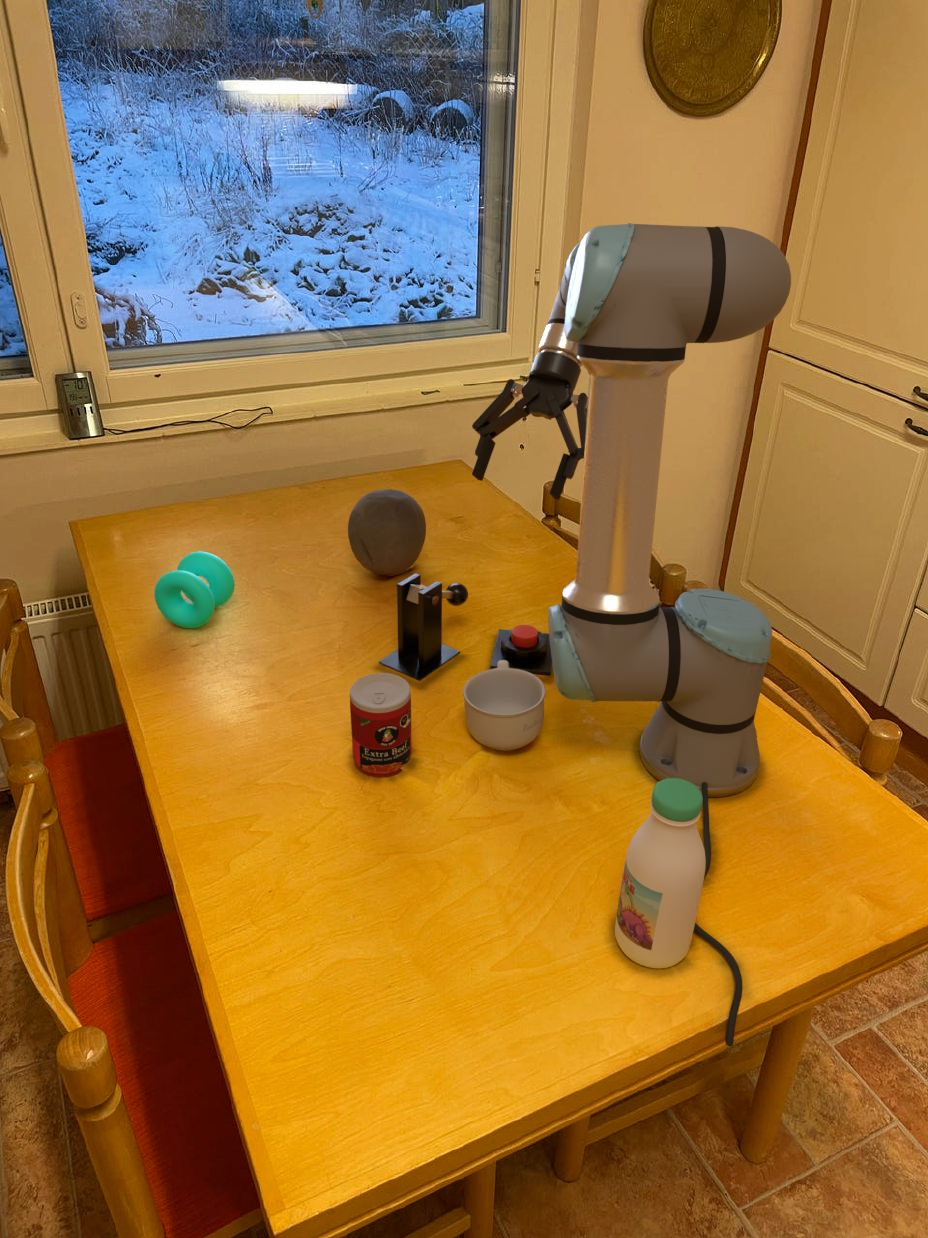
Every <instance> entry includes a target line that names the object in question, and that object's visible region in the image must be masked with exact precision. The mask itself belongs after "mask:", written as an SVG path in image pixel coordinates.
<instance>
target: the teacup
mask: <svg viewBox="0 0 928 1238" xmlns="http://www.w3.org/2000/svg"><path fill="white" fill-rule="evenodd" d="M546 690H547V689H546V686H545V684H544V682H543V681H542V679H541V678H540V677H538V676H536V674H531V673H529V672H527V671H524V670H520V669H513V668H509V663H508V661H506V660H500V661H498V663H497V668H495V669H487V670H483V671H480V672H477V673H476V674H474V675H473V676H471V677H470V678H469V679H468V680H466V682H465V684H464V686H463V689H462V696H463V699H464V701H463V702H464V713H465V715H464V716H465V722H466V726H467V729H468V732H469V734H470V735H471V737H472V738H473V739H475V741H476V742H478V743H479V744H481V745H483V746H485V747H486V748H487V747H488V748H490V749H492V750H495V751H502V752H506V751H507V752H508V751H514V750H518V749H520V748H522V747H525V746H527V745H529V744H530V743H531V742H533V741H534V740H535V739H536V738H537V737H538V735H539V734H540V732H541V730H542V728H543V725H544V717H545V699H546V694H547V693H546Z"/></svg>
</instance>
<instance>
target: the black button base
mask: <svg viewBox="0 0 928 1238" xmlns="http://www.w3.org/2000/svg"><path fill="white" fill-rule="evenodd" d="M511 636H512V629H504V628H499V629H498V631H497V634H496V640H495V644H494V648H493V653H492V657H491V661H490V667H489V668H490V669H495V668H497V663H498V661H500V660H506V661H508V663H509V668H513V669H520V670H524V671H527V672H529V673H531V674H533V675H538V676H547V677H548V676H549V677H551V674H552V667H553V664H552V656H551V648H550V638H549V632H541V631H539V630H538V640H537V644H536V646H534V647H529V648H524V647H518V646H515V645H513V644H512V642H511ZM490 669H489V670H490Z"/></svg>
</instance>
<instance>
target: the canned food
mask: <svg viewBox="0 0 928 1238" xmlns="http://www.w3.org/2000/svg"><path fill="white" fill-rule="evenodd" d="M349 709H350V710H349V712H350V729H351V742H352V744H351V745H352V758H353V761H354V763H355V766H356V767H357V769H358V770H359V771H360V772H362V773H363V774H364V775H367V776H371V777H373V778H386V777H387V778H388V777H393V776H395V775H397V774H399V773H401V772H403V769H402V768H403V767H405V765H407V764H408V762H409V761H410V759H411V757H412V692H411V686H410V684H409V682H408V681H407V680H406V679H405V678H403V677H401V676H400V675H397V674H394V673H389V672H375V673H369V674H367V675H364V676H362V677H359V678H358V679H356V680H355V681H354V682H353V683H352V685H351V687H350V689H349Z"/></svg>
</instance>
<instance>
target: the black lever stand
mask: <svg viewBox="0 0 928 1238" xmlns="http://www.w3.org/2000/svg"><path fill="white" fill-rule="evenodd" d="M410 584H421V585H422V577H421V574H419V573H414V574H412V575H410V576H408V577H406V578H405V579H403V580H402V581H399V582H398V583H396V608H397V609H396V611H397V613H396V614H397V649H396V650H395V651H392V653H389V654H388V655H387V656H385V657H383V658H382V659H381V660H379V661H378V664H380V665H382V666H385V667H387V668H389V669H391V670H394V671H396V672H398V673H401V674H403V675H405V676H407V677H408V678H409V677H410V678H412V679H414V680H416V681H418V682H421V681H423V680H424V679H425V678H427V677H428V676H429V675H431V674H433V673H434V672H435V671H436V670H438V669H439V668H441V667H442V666H443V665H445V664H446V663H448V662H449V661H451V660H452V659H454V658H455V657H456V656H458V655H459V654H460V653H461V651H460V650H458V649H455V648H454V647H451V646H448V645H445V644H443V641H442V640H443V639H442V638H443V635H442V634H443V598H442V590H443V582H441V581H434V582H433V583H431V584H429V585H428V586H427V587H426V588H425V589H423V590H421V591H420V592H418V604H416V603H413V602H411V601H408V600H407V595H408V592H409V588H410Z"/></svg>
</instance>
